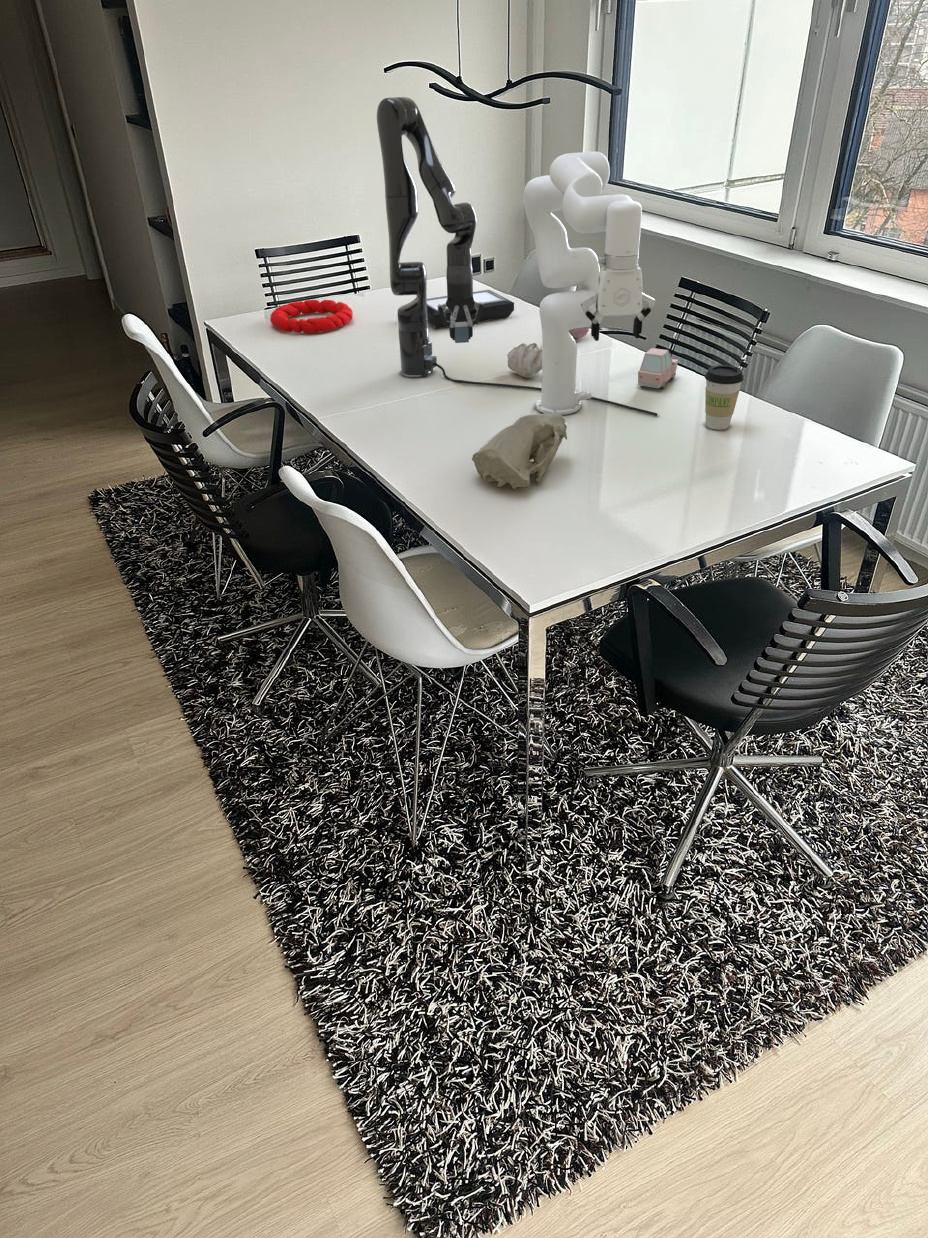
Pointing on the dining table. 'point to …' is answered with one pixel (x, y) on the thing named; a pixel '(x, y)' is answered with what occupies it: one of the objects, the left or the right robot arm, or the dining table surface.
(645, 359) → the toy car
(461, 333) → the block
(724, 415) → the coffee cup
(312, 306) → the decorative ring
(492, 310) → the electronic device
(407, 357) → the left robot arm
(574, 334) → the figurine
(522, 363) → the seashell
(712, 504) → the dining table surface
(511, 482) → the animal skull
